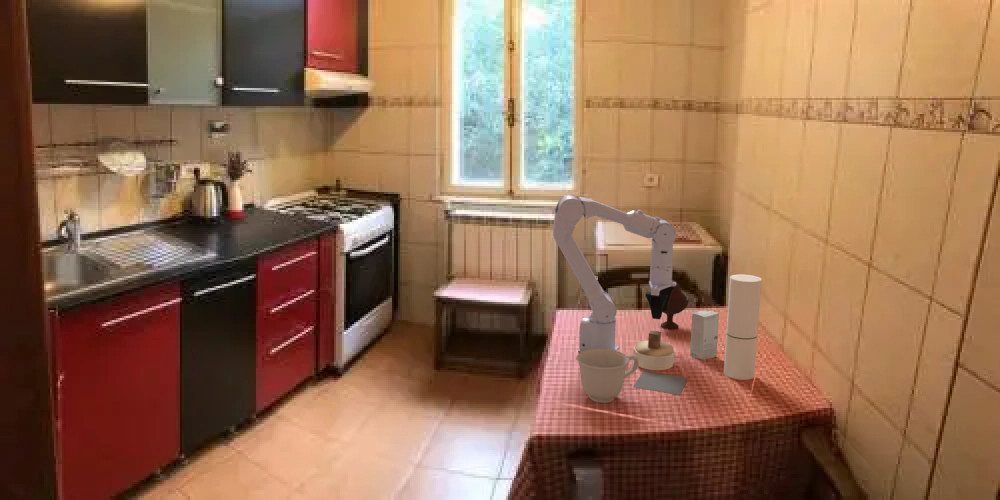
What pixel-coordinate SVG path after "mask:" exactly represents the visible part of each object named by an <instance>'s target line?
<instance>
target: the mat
mask: <svg viewBox="0 0 1000 500" xmlns="http://www.w3.org/2000/svg"><path fill="white" fill-rule="evenodd" d="M688 379H689V376H688V377H686V376H680V375H675V374H669V373H661V372H655V371H651V370H642V372H641V374H640V375H639V376H638V378H637V380H636V381H635V383H634V384H633V386H632V388H635V389H636V388H637V389H642V390H647V391H653V392H658V393H659V392H660V393H666V394H672V395H676V396H677V395H678V396H681V394H682V392H683V390H684V388H685V385H686V383H687V382H688Z"/></svg>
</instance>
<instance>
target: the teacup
mask: <svg viewBox="0 0 1000 500" xmlns="http://www.w3.org/2000/svg"><path fill="white" fill-rule="evenodd" d="M575 360H576V361H577V363H578V366H579V373H580V383H581V386H582V389H583V392H585V394H587V395H588V396H589V399H590V400H591V401H593V402H595V403H604V404H605V403H610V402H612V401H614V400H615V397H616V396H618V395H620V393H621V392H622V389H623V387H624V381H625V379H626V378H627V377H629V376H631V375H633V374H634V373H635V372H636V371H637V370H638V368H639V367H638V365H639V362H638V358H637V357H636V356H635V355H633V354H628V355H626V354H625V353H623V352H621V351H619V350H617V351H615V350H609V349H591V350H586V351H583V352H578V354H577V355H576V356H575ZM631 360H632V361H633V360H634V363H633V365H632V366H631V367H630V368H629V369H628V370H627V369H626V368H627V367H628V366H629V365H630V361H631Z"/></svg>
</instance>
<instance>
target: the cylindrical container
mask: <svg viewBox="0 0 1000 500" xmlns="http://www.w3.org/2000/svg"><path fill="white" fill-rule="evenodd" d="M762 281H763V280H762V278H761V277H759V276H756V275H752V274H743V273H740V274H732V275H730V276H729V286H728V287H729V289H728V300H727V301H728V302H727V317H726V319H727V321H726V334H725V350H724V364H723V374H724V375H725V377H728V378H731V379H733V380H741V381H742V380H746V381H747V380H752V379H753V380H754V379H755V374H756V373H755V372H756V371H755V370H756V360H757V359H756V357H757V356H756V355H757V343H758V333H759V332H758V330H759V319H760V318H759V317H760V305H761V292H762Z"/></svg>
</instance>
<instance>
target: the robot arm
mask: <svg viewBox="0 0 1000 500" xmlns="http://www.w3.org/2000/svg"><path fill="white" fill-rule="evenodd" d="M583 217H584V219H587V218H589V219H590V218H592V217H598V218H602V219H605V220H609V221H610V222H614V223H618V224H620V225H622V226H623V228H624V230H625V231H626V232H629V233H631V234H634V235H637V236H640V237H643V238H646V239H651V247H650V264H649V265H650V266H649V267H650V268H649V270H650V271H649V281H648V285H649V287H650V291H646V292H645V298H646V299H647V301H648V305H649V308H650V315H651V318H652V320H653V319H655V320H661V318H662V315H663V312H662V311H666V310H667V307H668V303H669V299H670V296H671V293H672V291H673V289H674V287H675V286H676V282H677V281H675V282H672V280H673V262H674V261H673V260H674V248H673V247H674V242H675V240H676V239H677V233H676V229H675V227H674V226H673V225H672V224H671V223H669V222H668V221H667V220H664V218H661V217H659V216H651V215H648V214H645V213H644V211H643V210H642V209H637V211H636V210H631V211H628V212H625V211H623V210H620V209H617V208H615V207H612V206H610V205H608V204H605V203H602V202H599V201H596V200H594V199H591V198H587V197H584V196H579V197H578V196H576V195H575V194H572V193H571V194H570V193H569V194H568V193H567V194H565V195H563V196H561V197H560V198H559V199H558V201H557V204H556V206H555V209H554V219H553V229H552V230H553V231H552V235H553V239H554V241H555V242H556V244H557V246H558V247H559V249H560V251H561V252H562V254H563V256H564V258H565V260H566V262H567V263H568V265H569V267H570V269H571V270H572V272H573V275H574V276H575V277H576V279H577V281H578V283H579V285H580V287H581V288H582V290H583V292H584V294H585V296H586V297H587V300H588V302H589V303H588V304H589V308H590V309H591V311H592V312H591V313H590V315H589V317H583V318H581V321H580V325H579V332H578V334H579V337H578V339H579V340H578V341H579V343H578V345H579V346H578V350H577V351H578V353H581V352H583V351H586V350H591V349H609V350H615V351H618V349H619V348H620V346H619V345H616V325H617V323H616V322H617V321H616V320H617V317H616V315H617V311H618V310H617V306H616V305H615V304H614V303H613V299H612V297H611V295H610V294H609V293H608V292H606V291H604V289H603V287H602V286H601V284H600V283H599V281H598V279H597V277H596V275H595V274H594V272H593V270H592V268H591V267H590V265H589V264H588V263H589V262H587V259H586V258H585V256H584V254H583V252H582V251H581V249H580V247H579V245H578V244H577V241H576V240H575V238H574V236H573V233H574V230H575V228H576V225H577V224H578V223H579V222H580V221H581V219H582V218H583Z"/></svg>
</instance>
